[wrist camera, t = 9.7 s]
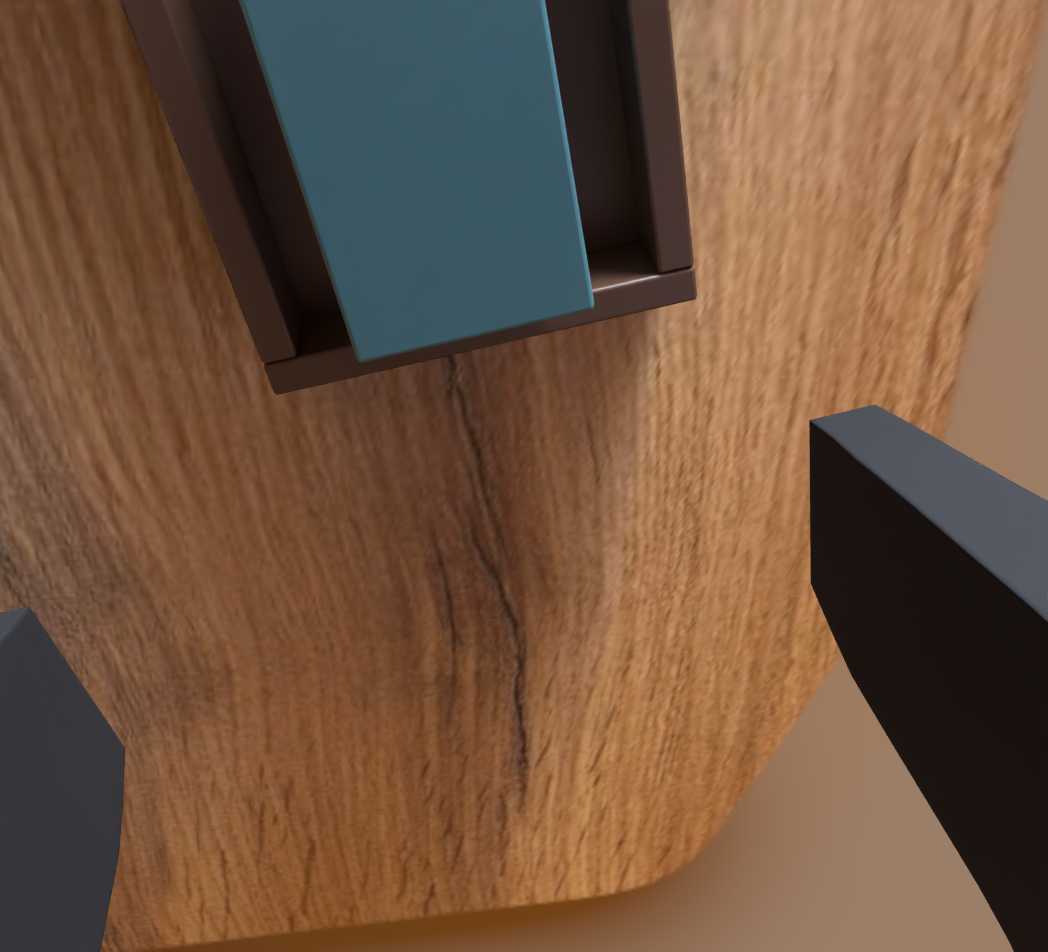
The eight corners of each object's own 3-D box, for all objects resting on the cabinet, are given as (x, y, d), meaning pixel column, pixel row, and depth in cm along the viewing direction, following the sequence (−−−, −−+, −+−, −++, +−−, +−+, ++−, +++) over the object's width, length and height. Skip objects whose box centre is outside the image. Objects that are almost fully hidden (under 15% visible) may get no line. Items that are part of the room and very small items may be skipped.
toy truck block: (560, 198, 17) (612, 314, 13) (351, 246, 17) (344, 374, 13) (469, -326, 13) (507, -372, 9) (195, -260, 13) (122, -280, 9)
